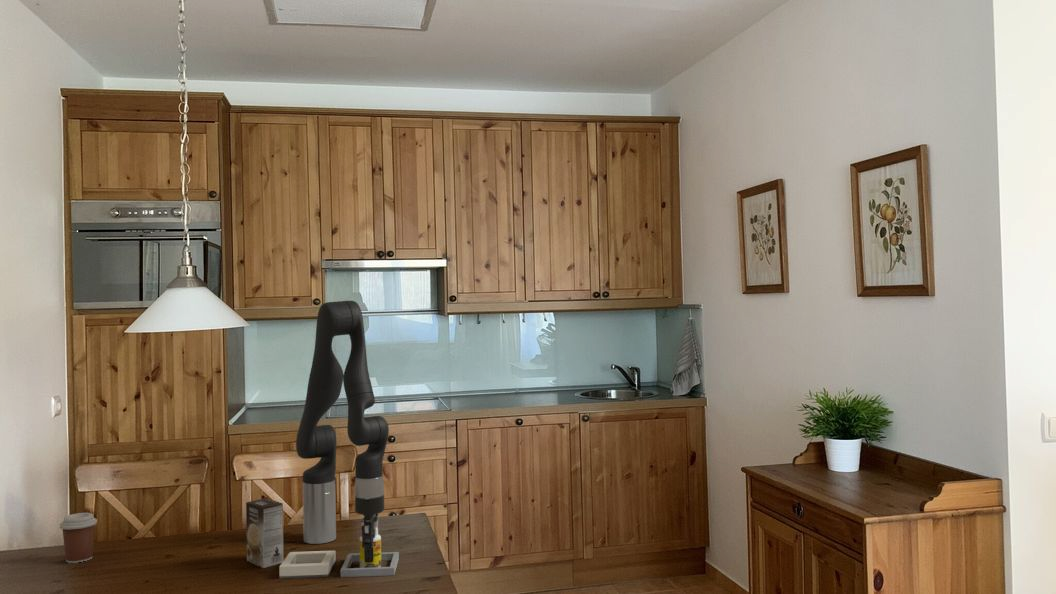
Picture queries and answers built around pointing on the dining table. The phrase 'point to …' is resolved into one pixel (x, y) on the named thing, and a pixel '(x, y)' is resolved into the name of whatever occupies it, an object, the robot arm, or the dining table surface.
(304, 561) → the holder
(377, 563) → the supplement bottle
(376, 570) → the tray
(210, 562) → the dining table surface
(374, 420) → the robot arm
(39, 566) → the dining table surface
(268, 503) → the coffee box
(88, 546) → the coffee cup
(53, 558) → the dining table surface
